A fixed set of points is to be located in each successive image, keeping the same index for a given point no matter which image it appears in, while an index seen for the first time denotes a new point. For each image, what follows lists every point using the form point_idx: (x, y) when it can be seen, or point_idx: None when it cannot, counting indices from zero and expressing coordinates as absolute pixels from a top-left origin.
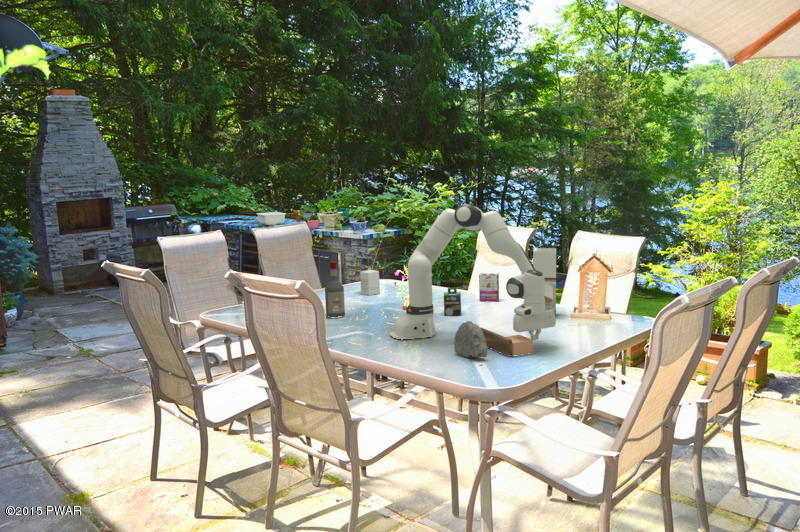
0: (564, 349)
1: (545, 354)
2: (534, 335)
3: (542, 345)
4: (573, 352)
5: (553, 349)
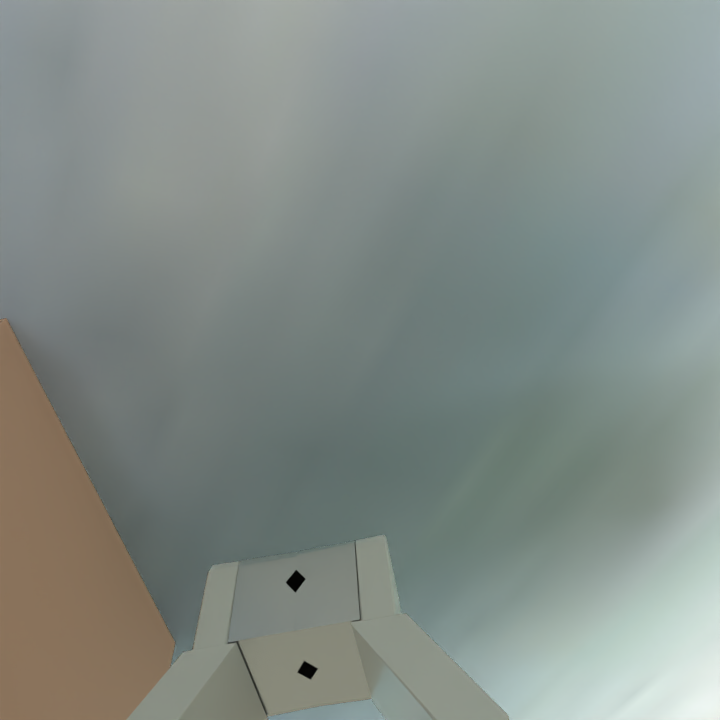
0: (697, 601)
1: (319, 709)
2: (289, 683)
3: (538, 331)
4: (694, 710)
5: (557, 569)
